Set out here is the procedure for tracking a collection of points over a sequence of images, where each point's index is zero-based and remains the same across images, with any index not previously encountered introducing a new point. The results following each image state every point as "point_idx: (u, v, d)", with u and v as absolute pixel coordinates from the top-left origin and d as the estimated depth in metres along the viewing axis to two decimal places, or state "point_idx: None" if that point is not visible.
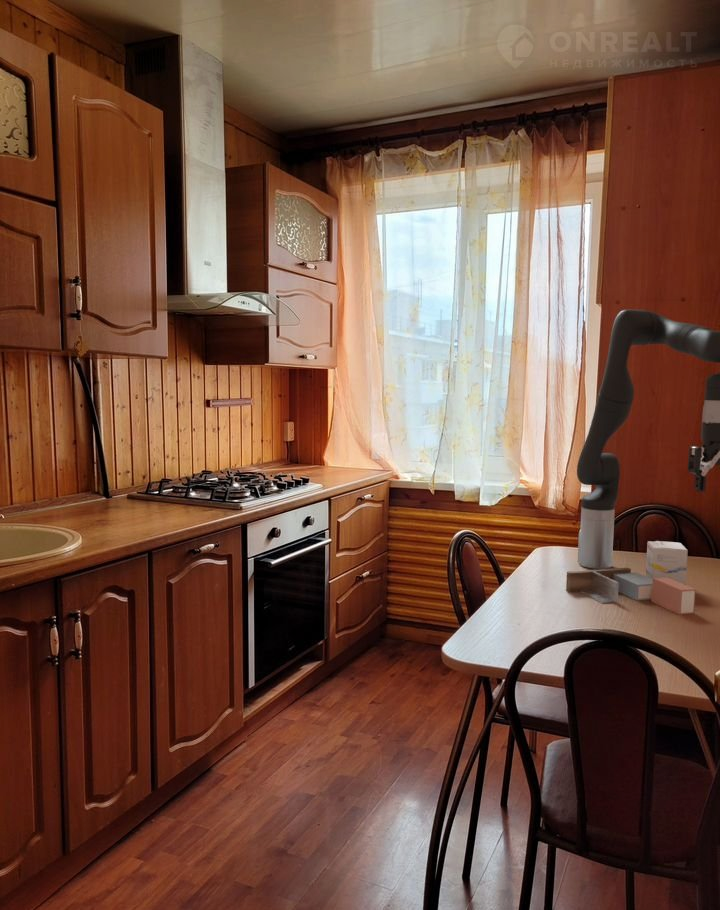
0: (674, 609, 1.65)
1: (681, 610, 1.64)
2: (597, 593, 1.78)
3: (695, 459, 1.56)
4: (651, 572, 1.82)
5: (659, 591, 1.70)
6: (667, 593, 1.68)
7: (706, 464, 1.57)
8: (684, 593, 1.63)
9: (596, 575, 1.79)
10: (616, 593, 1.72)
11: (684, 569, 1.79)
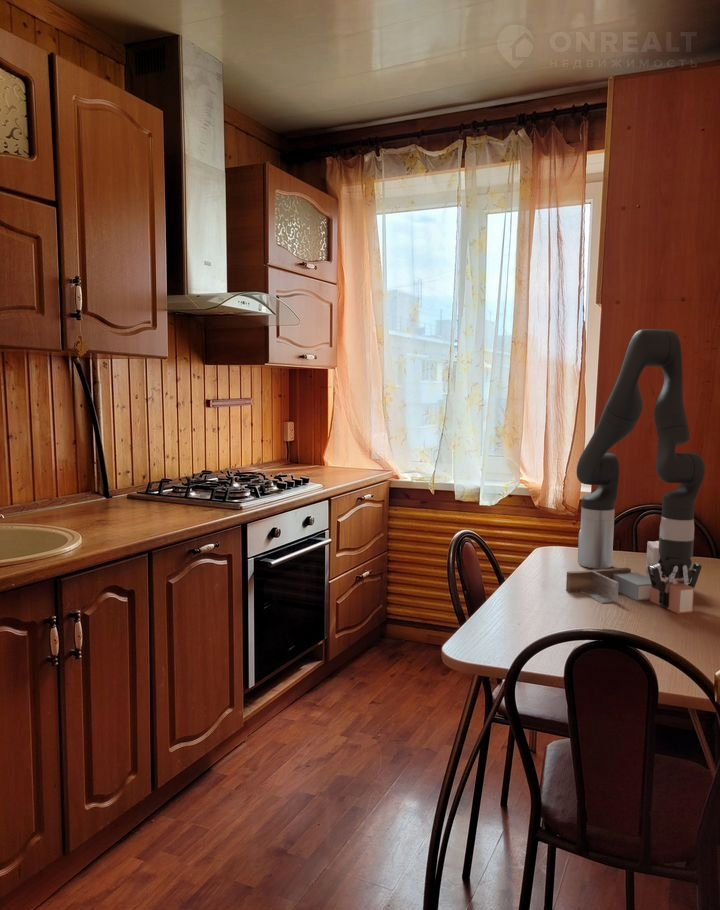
0: (673, 608, 1.66)
1: (680, 609, 1.64)
2: (597, 593, 1.78)
3: (655, 579, 1.66)
4: None
5: (658, 590, 1.71)
6: None
7: (666, 581, 1.66)
8: (683, 592, 1.64)
9: (596, 575, 1.79)
10: (616, 593, 1.72)
11: None
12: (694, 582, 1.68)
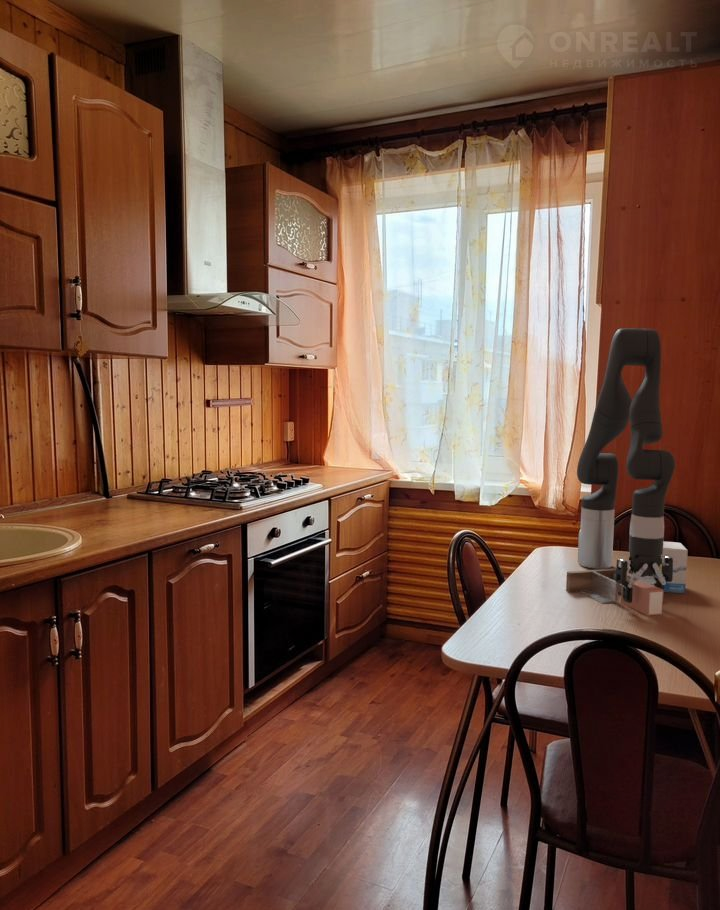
0: (642, 610, 1.64)
1: (649, 611, 1.62)
2: (597, 593, 1.78)
3: (621, 572, 1.63)
4: None
5: None
6: (635, 594, 1.67)
7: (632, 576, 1.64)
8: (652, 594, 1.62)
9: (596, 575, 1.79)
10: (616, 593, 1.72)
11: (684, 569, 1.79)
12: (670, 575, 1.67)
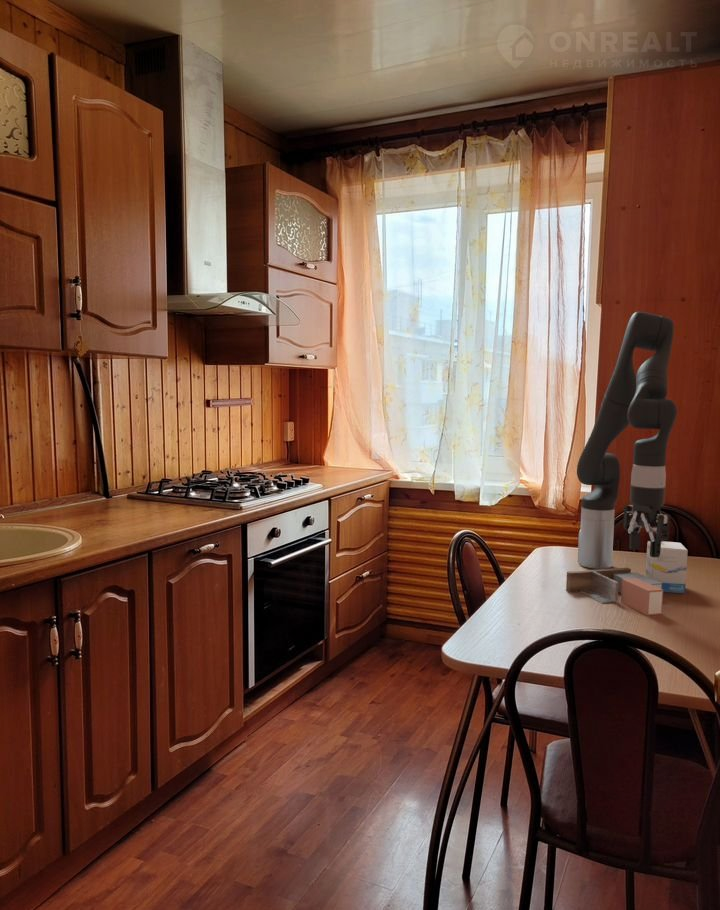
0: (642, 610, 1.64)
1: (649, 611, 1.63)
2: (597, 593, 1.78)
3: None
4: (651, 572, 1.82)
5: (628, 592, 1.69)
6: (635, 594, 1.67)
7: None
8: (652, 594, 1.62)
9: (596, 575, 1.79)
10: (616, 593, 1.72)
11: (684, 569, 1.79)
12: (658, 534, 1.59)
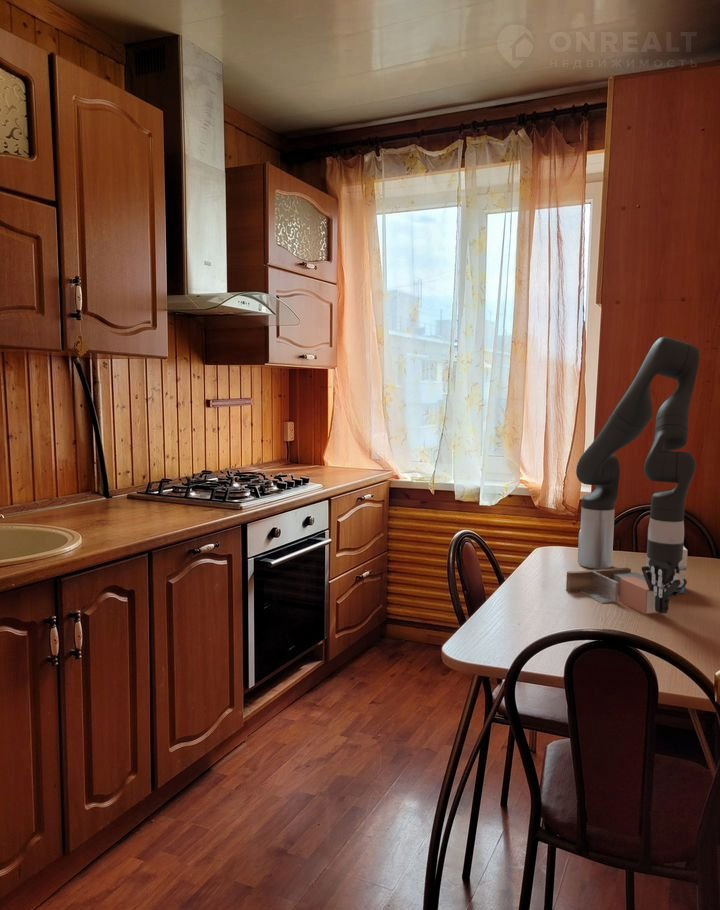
0: (640, 609, 1.65)
1: (647, 610, 1.63)
2: (597, 593, 1.78)
3: None
4: None
5: (626, 591, 1.70)
6: (633, 593, 1.67)
7: None
8: (649, 593, 1.63)
9: (596, 575, 1.79)
10: (616, 593, 1.72)
11: (684, 569, 1.79)
12: (667, 593, 1.57)
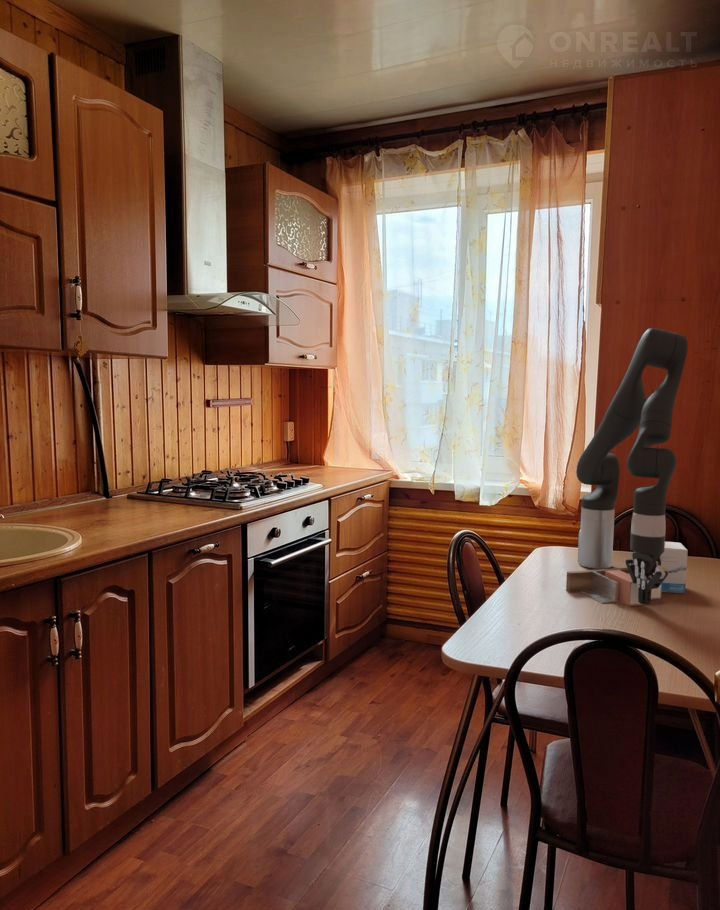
0: (624, 600, 1.71)
1: (630, 601, 1.69)
2: (597, 593, 1.78)
3: None
4: None
5: None
6: None
7: None
8: (633, 585, 1.69)
9: (596, 575, 1.79)
10: (616, 593, 1.72)
11: (684, 569, 1.79)
12: (649, 584, 1.63)
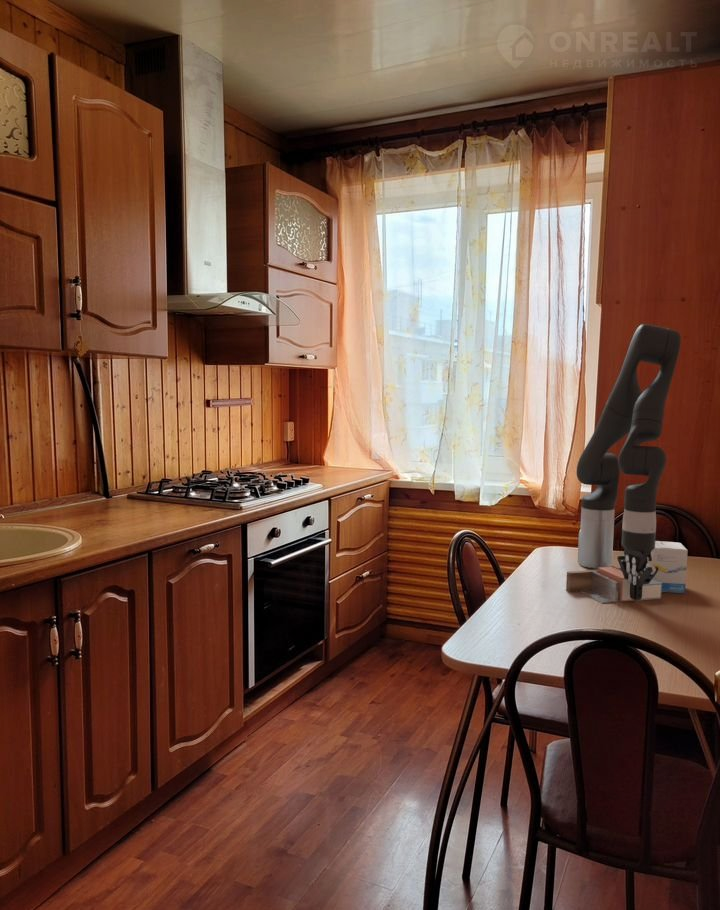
0: None
1: (622, 597, 1.72)
2: (597, 593, 1.78)
3: None
4: None
5: None
6: None
7: None
8: (625, 581, 1.72)
9: (596, 575, 1.79)
10: (616, 593, 1.72)
11: (684, 569, 1.79)
12: (641, 580, 1.66)
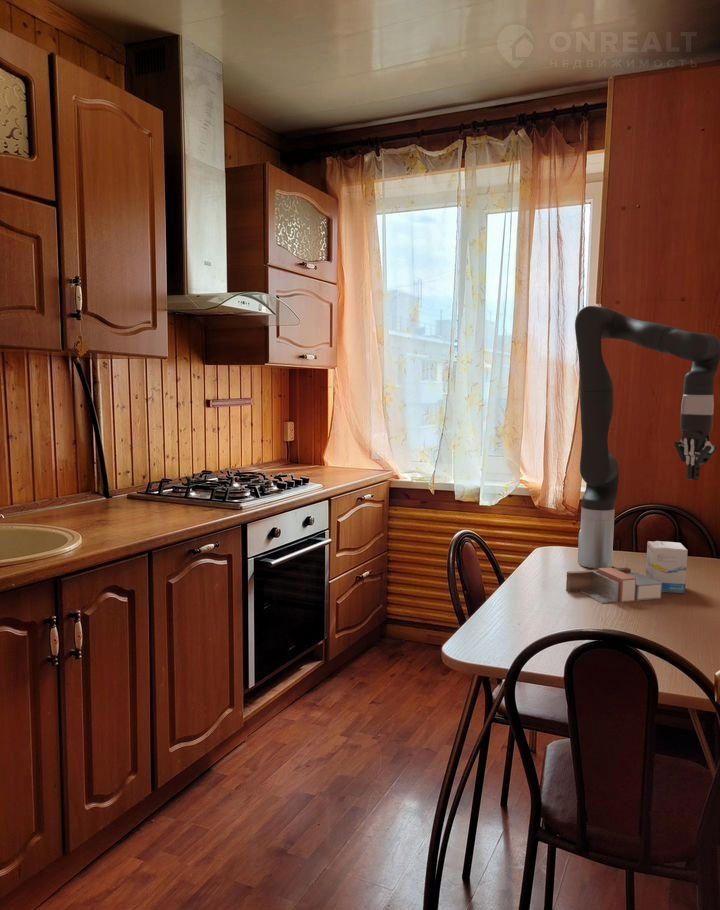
0: None
1: (622, 598, 1.72)
2: (597, 593, 1.78)
3: None
4: (651, 572, 1.82)
5: None
6: None
7: None
8: (625, 582, 1.72)
9: (596, 575, 1.79)
10: (616, 593, 1.72)
11: (684, 569, 1.79)
12: (699, 459, 1.77)
